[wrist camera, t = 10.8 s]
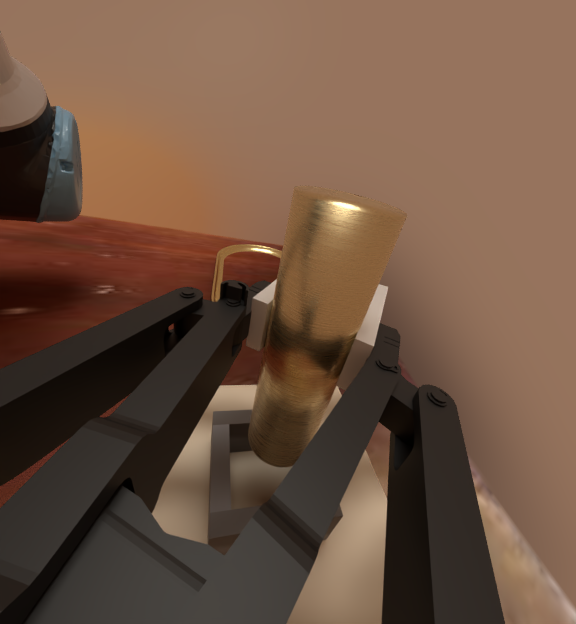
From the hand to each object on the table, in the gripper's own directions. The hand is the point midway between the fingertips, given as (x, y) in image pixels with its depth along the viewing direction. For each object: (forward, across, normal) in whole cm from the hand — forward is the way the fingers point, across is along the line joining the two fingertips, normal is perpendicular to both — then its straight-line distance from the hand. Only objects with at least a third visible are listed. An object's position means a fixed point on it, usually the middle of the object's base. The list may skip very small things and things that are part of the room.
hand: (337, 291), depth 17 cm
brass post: (-5, 0, -8) cm, 10 cm away
